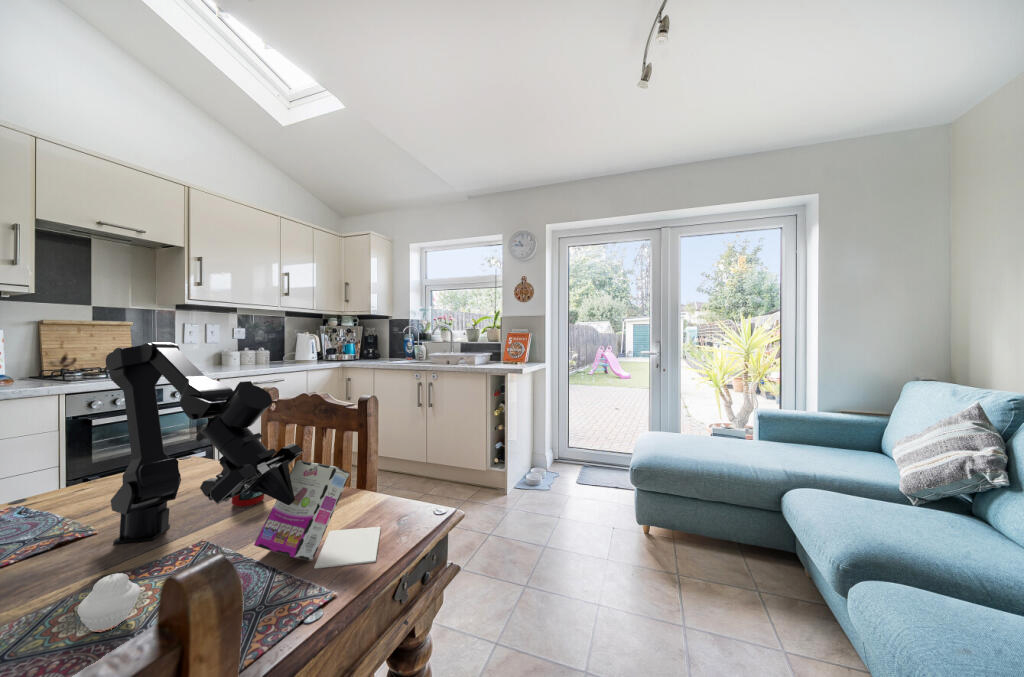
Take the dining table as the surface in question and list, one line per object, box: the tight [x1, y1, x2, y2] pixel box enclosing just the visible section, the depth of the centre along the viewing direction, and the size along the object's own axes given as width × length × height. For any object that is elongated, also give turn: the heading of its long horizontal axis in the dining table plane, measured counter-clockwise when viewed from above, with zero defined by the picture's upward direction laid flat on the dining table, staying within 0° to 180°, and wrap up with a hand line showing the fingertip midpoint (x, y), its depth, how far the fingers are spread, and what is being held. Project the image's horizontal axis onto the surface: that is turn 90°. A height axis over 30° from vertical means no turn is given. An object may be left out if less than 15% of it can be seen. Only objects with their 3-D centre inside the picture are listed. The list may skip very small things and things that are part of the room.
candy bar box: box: [253, 459, 351, 562], centre depth 76 cm, size 11×5×16 cm
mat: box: [314, 526, 382, 569], centre depth 77 cm, size 10×14×1 cm
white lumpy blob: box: [76, 572, 141, 631], centre depth 54 cm, size 6×6×7 cm
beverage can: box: [231, 483, 265, 508], centre depth 96 cm, size 7×7×12 cm
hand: (291, 503), depth 71 cm, fingers closed
